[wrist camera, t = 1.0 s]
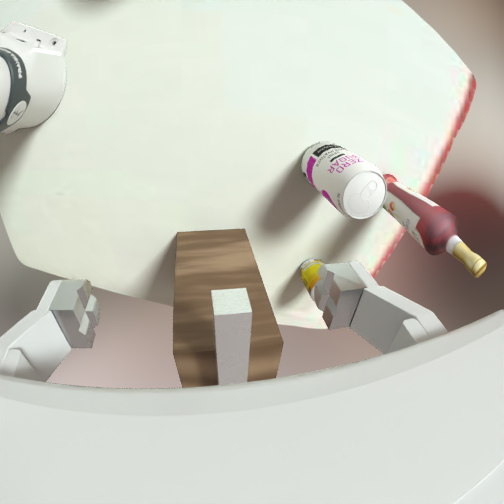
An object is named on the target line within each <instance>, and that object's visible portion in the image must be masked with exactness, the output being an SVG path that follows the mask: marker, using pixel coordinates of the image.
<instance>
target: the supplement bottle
mask: <svg viewBox="0 0 504 504" xmlns="http://www.w3.org/2000/svg"><path fill="white" fill-rule="evenodd" d="M322 264H324V263H323V262H322V261H321V260H320V259H317V258H312V259H309V260H307V261H305V262H304V263H303V264H302V265H301V267H300V271H299V273H300V276H301V278H302V280H303V282H304V284H305V286H306V288H307V290H308V292H309V294H310V296H311V298H312V299H313V301H315V299H314V288H315V283H316V282H317V281H318V280H319V279H320V277H319V276H318V270H319V267H320V265H322Z"/></svg>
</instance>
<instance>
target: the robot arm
mask: <svg viewBox="0 0 504 504" xmlns="http://www.w3.org/2000/svg"><path fill="white" fill-rule="evenodd" d="M55 41H56V44H55V45H54V42H55ZM66 49H67V40H66V39H64V38H62V37H59V36H57V35H54V34H51V33H49V32H46V31H43V30H40V29H38V28H35V27H32V26H29V25H26V24H23V23H19V22H12V23H10V24H9V25H7V26H6V27H5V28H4V29H3V30H2V31H1V32H0V133H2V132H4V133H5V134H9V133H12V132H14V131H16V130H17V129H19V128H28V127H34V126H37V125H39V124H41V123H42V122H44V121H45V120H46V119H48V118H49V117H50V116H51V114H52V113H53V112H54V111H55V109H56V108H57V106H58V105H59V103H60V101H61V99H62V96H63V93H64V90H65V86H66V78H67V73H66V65H65V53H66ZM318 276H319V277H320V279H319V280H318V281H317V282H316V283H315V288H314V299H315V303H316V305H317V307H318V309H320V310H322V311H323V312H324V313H323V316H322V317H323V319H324V321H325V323H326V325H327V327H328V329H329V330H331V329H338V328H345V327H350V329H352V330H353V331H354V332H356V333H357V334H358V335H360V336H361V337H362V338H363V339H365V340H366V341H368V342H369V343H370V344H371V345H373V346H374V347H375V348H376V349H378V350H379V351H380V352H382V353H383V355H380V356H377V357H373V358H369V359H365V360H361V361H358V362H354V363H350V364H345V365H341V366H337V367H332V368H328V369H323V370H318V371H313V372H308V373H303V374H298V375H293V376H287V377H280V378H274V379H267V380H260V381H253V382H244V383H236V384H226V385H215V386H202V387H186V388H156V389H133V388H132V389H131V388H129V389H128V388H102V387H85V386H74V385H64V384H55V383H47V382H46V381H47V380H48V378H49V377H50V376H51V374H52V373H53V372H54V371H55V369H56V368H57V367H58V366H59V364H60V363H61V362H62V360H63V359H64V358H65V357H66V355H67V354H68V353H69V352H70V351H71V348H92V345H93V341H94V337H95V332H94V330H93V328H94V327H95V326H97V325H98V321H99V306H98V302H97V299H96V298H95V297H94V296H93V295H91V292H92V289H93V288H92V286H91V283H90V281H88V280H87V279H86V280H53V281H51V282H50V284H49V286H48V287H47V289H46V291H45V293H44V295H43V297H42V299H41V301H40V303H39V305H38V308H37V309H36V310H33V311H31V312H30V313H29V314H28V315H26V316H25V317H24V318H23V319H21V321H19V322H18V323H17V324H15V325H14V326H13V327H12V328H11V329H10V330H8V331H7V332H6V333H5V334H4V335H2V336H1V337H0V504H504V310H500V311H497V312H495V313H493V314H491V315H489V316H487V317H484V318H482V319H480V320H478V321H475V322H473V323H471V324H468V325H466V326H464V327H461V328H459V329H456V330H454V331H452V332H449V333H448V331H447V330H446V329H445V327H444V326H443V325H442V324H441V322H440V321H439V320H438V318H437V317H436V316H435V314H434V313H433V312H432V311H430V310H428V309H426V308H424V307H422V306H420V305H418V304H416V303H415V302H413V301H411V300H409V299H407V298H405V297H403V296H401V295H399V294H397V293H395V292H394V291H391V290H390V289H388V288H386V287H383V286H379V285H378V284H377V283H376V281H375V280H374V279H373V277H372V276H371V275H370V274H369V272H368V271H367V270H366V269H365V267H364V266H363V265H362V264H361V262H359V261H349V262H344V263H333V264H322V265H320V267H319V270H318Z"/></svg>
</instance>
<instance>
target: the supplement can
mask: <svg viewBox="0 0 504 504" xmlns="http://www.w3.org/2000/svg"><path fill="white" fill-rule="evenodd" d="M301 167H302V172H303V175H304V176H305V178H306V179H307V181H308V182H310V183H311V184H312V185H313V186H314V187H315V188H316V189H317V190H318V191H319V192H320V193H321V194H322V195H323V196H324V197H325V198H326V199H327V200H328V201H329V202H330V203H331V204H332V205H333V206H334V207H335V208H336V209H337V210H338V211H339V212H340V213H342V214H343V215H345V216H346V217H350V218H357V219H365V218H369V217H371V216H373V215H374V214H376V213H377V212H378V211H379V210H380V209H381V207H382V206H383V204H384V202H385V200H386V196H387V184H386V182H385V179H384V177H383V175H382V173H381V171H380V170H379V169H378V168H377V167H376V166H375V165H373V164H372V163H370V162H368V161H366V160H364V159H363V158H361V157H359V156H357V155H355V154H354V153H352V152H350V151H348V150H346V149H344V148H342V147H340V146H338V145H336V144H334V143H331V142H328V141H322V142H318V143H316V144H313V145H312V146H311V147H310V148H309V149H308V150H307V151H306V152H305V154H304V156H303V158H302V165H301Z"/></svg>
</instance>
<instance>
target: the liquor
mask: <svg viewBox="0 0 504 504" xmlns="http://www.w3.org/2000/svg"><path fill="white" fill-rule="evenodd" d="M383 177H384V179H385V182H386V184H387V196H386V200H385V202H384V204H383V206H382V207H383V208H384V209H385V210H386V211H387V212H389V213H390V214H391V215H392V216H393V217H394V218H395V219H396V220H397V221H398V222H399V223H400V224H401V225H402V226H403V227H404V228H405V229H406V230H407V231H408V232H409V233H410V234H411V235H412V236H413V237H414V238H415V239H416V240H417V241H418V242H419V243H420V244H421V245H422V246H423V247H424V248H425V250H426V251H427V252H428V253H429V254H431V255H438V254H441V253H443V252H445V251H448V252H449V253H450V254H452V255H453V256H454V257H456V258H457V259H458V260H460V261H461V262H462V263H463V264H464V265H465V266H466V268H467V269H468V271H469V272H470V273H471V274H472V275H473V276H474V277H475V278H478V277H480V276H481V275H482V273H483V272H484V271H485V268H486V266H487V263H486V262H485V261H484V260H483V259H482V258H481V257H480V256H479V255H477V254H475V253H474V252H472V251H471V250H470V249H469V248H468V247H467V246H466V245H465V244H464V243H463V241H462V240H461V239H460V238H459V237H458V236H457V231H458V221H457V219H456V217H455V216H454V215H452V214H451V213H449V212H448V211H446V210H445V209H443V208H442V207H440V206H439V205H437V204H435V203H434V202H432V201H431V200H429V199H427V198H425V197H424V196H422V195H420V194H418V193H416V192H415V191H413V190H411V189H410V188H408V187H406V186H405V185H403V184H401V183H400V182H398V181H397V180H396V178H395V177H394V176H392V175H390V174H385V175H383Z"/></svg>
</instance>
